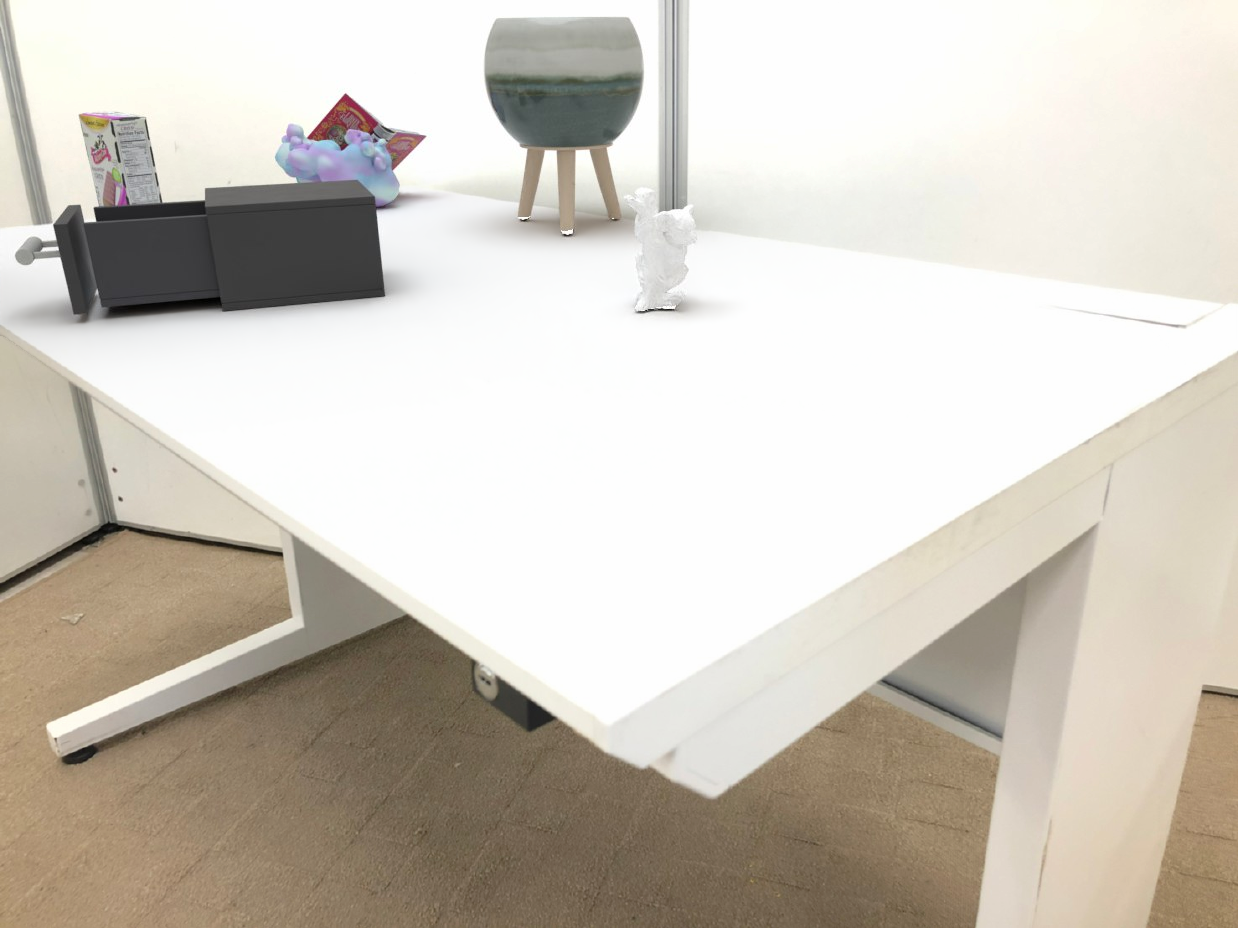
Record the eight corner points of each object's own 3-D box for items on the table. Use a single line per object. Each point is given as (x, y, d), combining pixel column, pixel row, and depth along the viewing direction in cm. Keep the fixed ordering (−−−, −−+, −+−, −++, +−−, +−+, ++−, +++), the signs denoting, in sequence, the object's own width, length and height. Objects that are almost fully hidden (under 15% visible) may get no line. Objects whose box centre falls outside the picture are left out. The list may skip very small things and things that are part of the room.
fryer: (222, 311, 103) (204, 206, 99) (220, 282, 115) (204, 188, 110) (385, 296, 108) (375, 196, 104) (367, 270, 120) (357, 179, 116)
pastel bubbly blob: (262, 186, 152) (312, 78, 147) (266, 163, 170) (311, 67, 166) (385, 248, 161) (436, 148, 156) (377, 220, 179) (422, 129, 175)
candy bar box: (102, 234, 142) (76, 113, 136) (137, 229, 146) (113, 110, 139) (135, 245, 135) (109, 117, 129) (171, 239, 139) (148, 114, 132)
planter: (657, 214, 154) (658, 17, 143) (625, 242, 135) (624, 16, 123) (520, 210, 159) (511, 19, 148) (470, 236, 139) (455, 18, 128)
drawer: (24, 319, 97) (1, 228, 94) (42, 290, 108) (22, 207, 104) (239, 299, 104) (225, 213, 100) (236, 274, 114) (223, 196, 111)
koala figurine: (638, 318, 99) (638, 194, 94) (607, 303, 105) (605, 186, 100) (710, 308, 103) (713, 188, 98) (676, 294, 108) (678, 180, 103)
